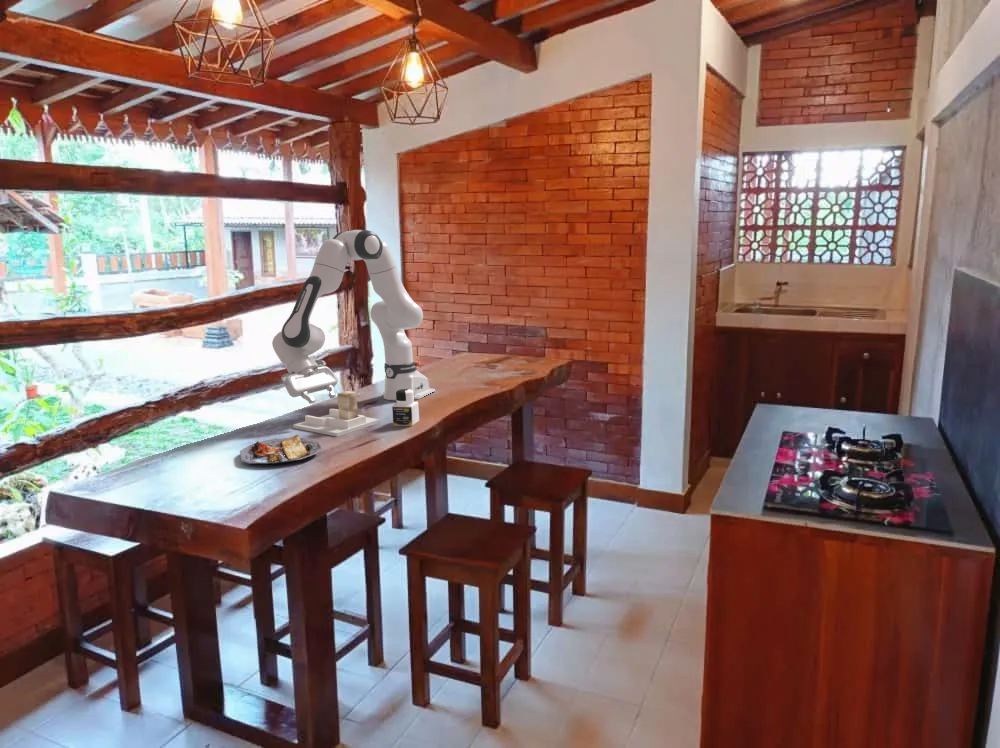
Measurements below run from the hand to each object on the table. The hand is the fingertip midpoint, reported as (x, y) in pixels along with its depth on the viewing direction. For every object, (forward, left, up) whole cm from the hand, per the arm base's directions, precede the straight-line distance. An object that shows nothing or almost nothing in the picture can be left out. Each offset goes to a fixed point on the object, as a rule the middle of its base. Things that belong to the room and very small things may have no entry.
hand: (323, 399), depth 260 cm
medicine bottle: (-14, +26, -9) cm, 31 cm away
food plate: (+33, +17, -9) cm, 38 cm away
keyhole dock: (0, +6, -9) cm, 10 cm away
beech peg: (0, +12, -7) cm, 14 cm away
